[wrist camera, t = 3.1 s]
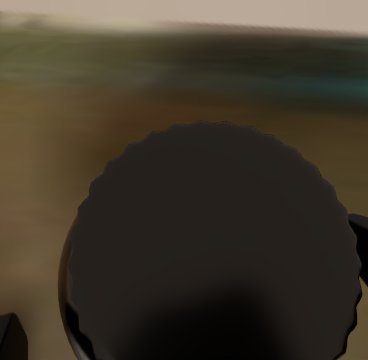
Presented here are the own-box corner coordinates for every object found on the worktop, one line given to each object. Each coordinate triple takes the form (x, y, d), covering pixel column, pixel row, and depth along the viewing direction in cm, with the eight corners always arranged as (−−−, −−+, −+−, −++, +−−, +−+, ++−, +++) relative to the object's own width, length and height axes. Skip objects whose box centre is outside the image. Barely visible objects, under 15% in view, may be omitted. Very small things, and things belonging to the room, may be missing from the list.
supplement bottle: (131, 199, 18) (109, 19, 7) (254, 243, 18) (443, 136, 7) (74, 336, 15) (-114, 414, 4) (217, 388, 15) (418, 614, 4)
